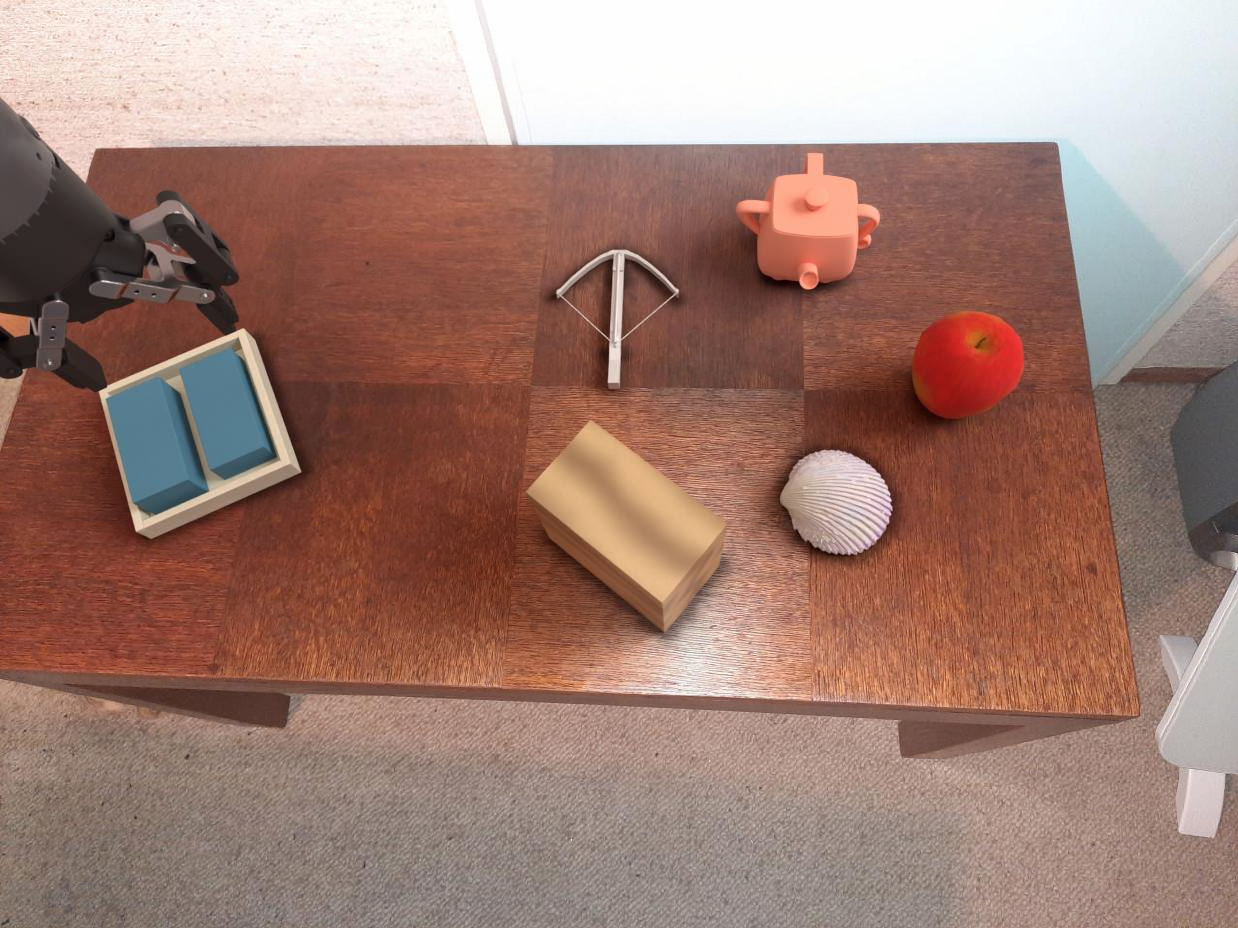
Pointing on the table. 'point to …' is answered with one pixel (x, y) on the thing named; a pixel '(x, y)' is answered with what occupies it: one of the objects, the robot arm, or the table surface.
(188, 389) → the blue brick
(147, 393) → the blue rectangular block
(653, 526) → the tan wooden block
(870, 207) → the teapot
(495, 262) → the table surface
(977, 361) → the apple
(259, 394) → the cream tray
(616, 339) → the crossbow
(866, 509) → the seashell
